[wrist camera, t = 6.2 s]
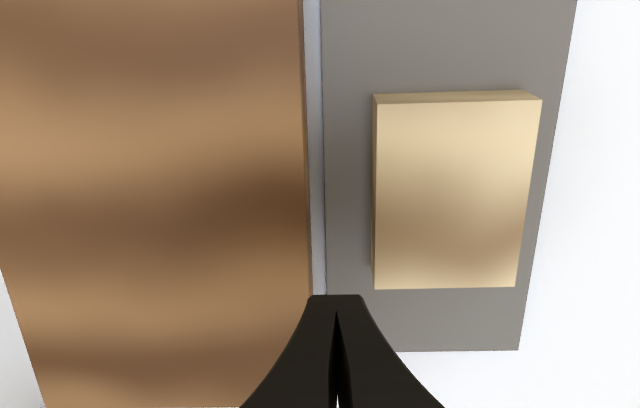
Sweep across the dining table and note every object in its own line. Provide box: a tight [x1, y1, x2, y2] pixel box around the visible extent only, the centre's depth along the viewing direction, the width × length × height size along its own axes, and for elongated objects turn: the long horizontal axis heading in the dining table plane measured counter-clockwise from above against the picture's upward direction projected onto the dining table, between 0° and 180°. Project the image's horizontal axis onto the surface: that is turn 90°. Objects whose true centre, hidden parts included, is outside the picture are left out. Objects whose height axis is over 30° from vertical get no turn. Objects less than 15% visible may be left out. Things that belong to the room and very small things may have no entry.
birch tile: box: [370, 90, 543, 290], centre depth 21 cm, size 8×6×2 cm
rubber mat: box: [321, 0, 577, 352], centre depth 22 cm, size 18×10×1 cm, turn 1°
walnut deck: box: [0, 0, 313, 408], centre depth 20 cm, size 18×12×4 cm, turn 1°
